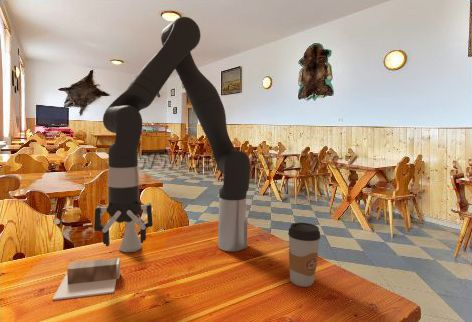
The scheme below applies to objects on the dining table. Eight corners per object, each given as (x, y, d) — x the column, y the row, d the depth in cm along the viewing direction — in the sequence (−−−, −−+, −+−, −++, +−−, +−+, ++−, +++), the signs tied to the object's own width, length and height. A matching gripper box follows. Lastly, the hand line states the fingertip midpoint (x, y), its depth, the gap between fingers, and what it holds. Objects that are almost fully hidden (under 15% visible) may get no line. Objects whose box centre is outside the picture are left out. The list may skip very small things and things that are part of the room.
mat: (119, 263, 87) (119, 262, 87) (113, 292, 72) (113, 291, 72) (70, 268, 83) (70, 267, 83) (52, 300, 68) (52, 298, 68)
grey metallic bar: (120, 257, 81) (71, 262, 78) (118, 264, 77) (67, 269, 74) (120, 271, 81) (71, 276, 78) (119, 278, 78) (67, 284, 74)
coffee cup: (299, 292, 74) (302, 234, 73) (279, 277, 81) (282, 224, 80) (324, 285, 78) (327, 229, 76) (303, 271, 85) (306, 220, 84)
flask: (145, 245, 101) (145, 216, 100) (136, 253, 94) (136, 223, 93) (125, 243, 102) (124, 215, 101) (114, 252, 95) (114, 222, 94)
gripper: (151, 180, 83) (152, 236, 85) (96, 181, 79) (98, 240, 80) (152, 185, 76) (153, 246, 77) (91, 187, 72) (93, 252, 73)
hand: (125, 243), depth 79 cm, fingers open, 8 cm apart
